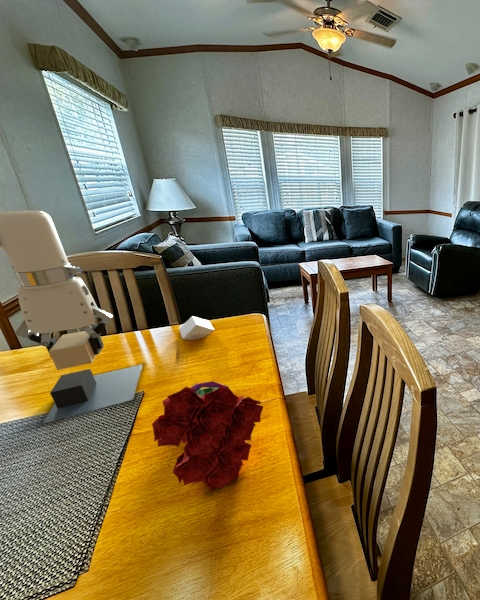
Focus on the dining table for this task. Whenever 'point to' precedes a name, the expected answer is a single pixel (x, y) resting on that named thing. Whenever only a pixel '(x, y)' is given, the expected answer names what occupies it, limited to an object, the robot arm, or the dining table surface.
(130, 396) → the board
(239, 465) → the bouquet
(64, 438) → the dining table surface
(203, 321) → the wedge on round base
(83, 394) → the back pad left
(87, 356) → the loose pad
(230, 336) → the dining table surface
